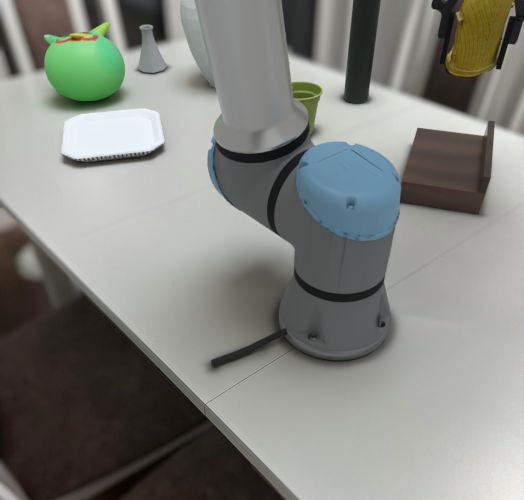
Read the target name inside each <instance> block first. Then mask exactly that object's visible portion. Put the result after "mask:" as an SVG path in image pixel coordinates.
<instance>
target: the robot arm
mask: <svg viewBox="0 0 524 500" xmlns="http://www.w3.org/2000/svg"><path fill="white" fill-rule="evenodd" d="M194 1H195V5H196V10H197V14H198V18H199V22H200V26H201V30H202V34H203V39H204V43H205V47H206V51H207V55H208V59H209V63H210V68H211V72H212V76H213V80H214V84H215V87H214V88H215V92H216V97H217V100H218V105H219V108H220V115H219V116H218V117H217V118H216V120H215V122H214V125H213V129H212V130H213V135H212V138H211V140H210V143H211V144H212V145H211V148H210V149H208V150H207V157H206V158H207V159H206V160H207V161H206V162H207V163H206V164H207V171H208V176H209V179H210V181H211V183H212V186H213V187H214V188H215V190H216V191H217V192H218V193H219V195H220V196H222V198H223V199H224V200H225V201H226V202H227V203H229V205H231V206H232V207H234V208H235V209H237V210H238V211H240V212H242V213H244V214H245V215H247V216H248V217H250V218H251V219H253V220H254V221H256V222H257V223H259V224H260V225H262V226H263V227H265V228H266V229H268V230H269V231H271V232H272V233H274V234H275V235H276V236H278V237H280V238H281V239H282V240H284V241H285V242H287V243H288V244H290V245H291V246H292V248H293V250H294V254H293V260H294V261H293V274H292V276H291V278H290V280H289V282H288V284H287V287H286V289H285V291H284V294H283V296H282V297H281V300H280V303H279V308H278V324H279V328H280V330H277V331H276V332H273V333H271V334H269V335H267V336H265V337H263V338H261V339H259V340H257V341H254V342H253V343H251V344H249V345H247V346H244V347H242V348H240V349H237V350H234V351H232V352H229V353H226V354H223V355H221V356H218V357H214V358H212V359H210V363H211V365H212V367H216V366H219V365H221V364H224V363H227V362H230V361H233V360H236V359H238V358H241V357H243V356H245V355H248V354H250V353H252V352H255V351H256V350H258V349H260V348H262V347H264V346H266V345H268V344H270V343H273V342H274V341H276V340H278V339H281V338H283V337H284V338H285V339H286V340H287V341H288V343H290V345H292V346H293V347H294V348H296V349H297V350H299V351H300V352H302V353H305V354H306V355H309V356H312V357H314V358H318V359H322V360H329V361H347V360H348V361H349V360H355V359H358V358H361V357H364V356H367V355H368V354H370V353H372V352H374V351H376V349H378V348H379V347H380V346H381V345H382V344H383V342H384V341H385V340H386V338H387V335H388V333H389V329H390V324H391V320H392V319H391V309H390V304H389V298H388V293H387V289H386V284H385V280H386V273H387V270H388V265H389V261H390V257H391V256H390V255H391V250H392V246H393V240H394V236H395V231H396V227H397V223H398V222H399V218H400V213H401V212H400V211H401V210H400V209H401V207H400V206H401V202H400V195H401V177H400V175H399V173H398V171H397V168H396V167H395V165H394V164H393V163H392V162H391V161H390V160H389V159H388V158H387V157H385V156H384V155H383V154H382V153H380V152H378V151H377V150H375V149H373V148H371V147H369V146H367V145H363V144H360V143H354V144H349V143H348V142H347V141H338V140H337V141H335V140H334V141H327V142H326V141H325V142H322V143H318V144H316V145H315V144H314V143H313V141H312V136H311V135H312V134H310V126H309V116H308V111H307V109H306V107H305V106H304V105H303V104H302V103H301V102H300V101H298V100H296V99H295V98H293V90H292V82H293V81H292V74H291V67H290V59H289V51H288V43H287V34H286V27H285V19H284V11H283V1H282V0H194ZM458 2H459V0H431V4H430V5H431V6H430V8H431V9H432V10H435V11H438V12H439V13H440V15H441V17H440V23H439V27H438V32H437V37H438V39H444V40H443V44H442V50H441V54H440V57H439V65H445V63H446V57H447V55H448V50H449V46H450V42H451V38H452V32H453V28H454V23H455V18H456V14H455V13H457V11H453V9H454V7H455V6H456V5H457V3H458ZM514 2H515V3H514V4H515V5H514V13H515V15H509V16H508V19H507V24H506V26H505V30H504V33H503V37H502V40H501V45H500V47H499V55H498V59H497V62H496V66H495V70H500V71H501V70H502V68H503V64H504V60H505V57H506V53H507V50H508V48H509V47H508V46H509V45H512V46H513V45H516V44H517V42H518V41H519V37H520V34H521V30H522V27H523V23H524V0H514Z"/></svg>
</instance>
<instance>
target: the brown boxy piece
mask: <svg viewBox="0 0 524 500" xmlns="http://www.w3.org/2000/svg"><path fill="white" fill-rule="evenodd" d="M495 126H496V121H495V120H487V124H486V127H485V131H484V134H483V135H480V134H479V135H478V134H473V133H464V132H457V131H456V132H455V131H448V130H440V129H433V128H425V127H417V128H416V130H415V134H414V138H413V142H412V145H411V147H410V151H409V155H408V158H407V162H406V165H405V169H404V172H403V176H402V179H401V182H400V184H401V195H400V203H405V204H411V205H418V206H424V207H431V208H438V209H443V210H449V211H456V212H463V213H467V214H468V213H469V214H476V215H479V214H480V213H481V210H482V206H483V202H484V200H485V198H486V194H487V191H488V188H489V185H490V182H491V179H492V169H493V155H494V141H495V140H494V139H495Z"/></svg>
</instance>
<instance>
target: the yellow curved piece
mask: <svg viewBox="0 0 524 500" xmlns="http://www.w3.org/2000/svg"><path fill="white" fill-rule="evenodd" d="M461 5H462V6H460V9H459V11H456V13H455V17H456V20H457V21H456V29H455V37H454V40H453V41H454V42H453V46H452V48H451V50H449V53H447V55H446V60H445V63H444V71H445V73H446V74H447V75H448V76H451V77H454V78H458V79H473V78H477V77H480V76H482V75H483V74H486V73H487V72H490V71H492V70H493V69H494V68H496V62H497V59H498V55H499V52H500V48H501V45H502V41H503V36H504V33H505V29H506V25H507V24H506V23H507V22H508V19H509V16H510V12H511V9H513V8H514V7H515V2H514V0H463V2H462V4H461Z"/></svg>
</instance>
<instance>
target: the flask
mask: <svg viewBox="0 0 524 500" xmlns="http://www.w3.org/2000/svg"><path fill="white" fill-rule="evenodd" d="M153 29H154V26H153V25H151V24H142V25H140V26H139V30H140V31H141V33H140V34H141V46H140V47H141V48H140V54H139V61H138V66H137V70H139V71H141V72H142V73H151V74H154V73H158V72H161V71H164V70H165V69H166V68H167V67H168V66H167V64H166V62H165V59H164V58H163V56H162V53H161V52H160V50H159V47H158V45H157V43H156V40H155V36H154V32H153Z"/></svg>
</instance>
